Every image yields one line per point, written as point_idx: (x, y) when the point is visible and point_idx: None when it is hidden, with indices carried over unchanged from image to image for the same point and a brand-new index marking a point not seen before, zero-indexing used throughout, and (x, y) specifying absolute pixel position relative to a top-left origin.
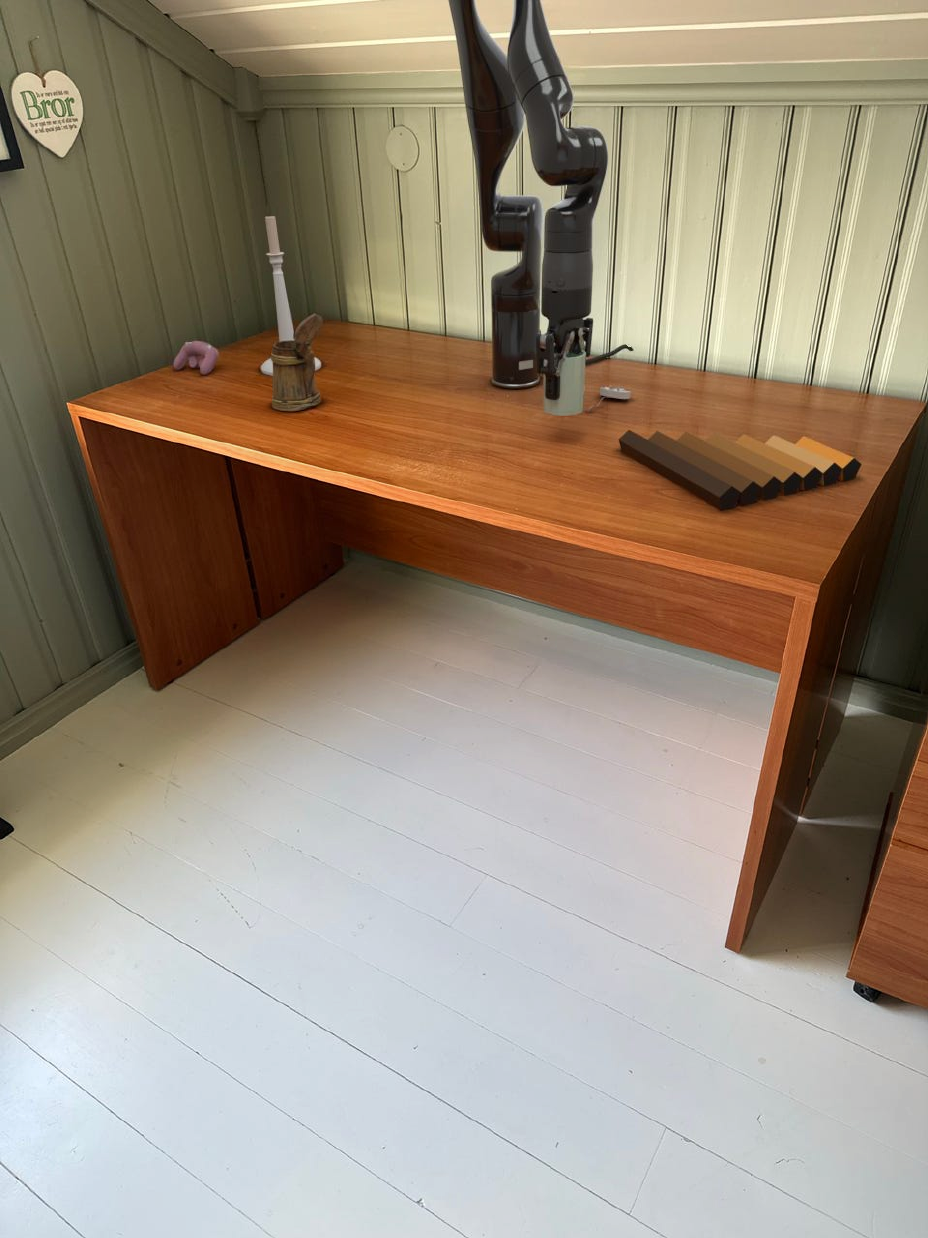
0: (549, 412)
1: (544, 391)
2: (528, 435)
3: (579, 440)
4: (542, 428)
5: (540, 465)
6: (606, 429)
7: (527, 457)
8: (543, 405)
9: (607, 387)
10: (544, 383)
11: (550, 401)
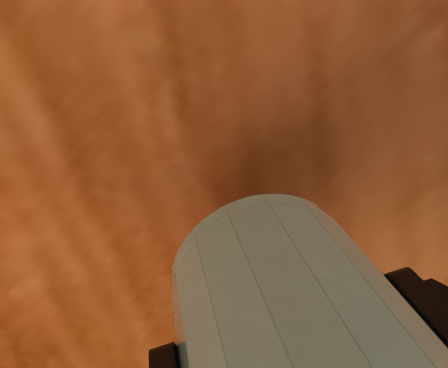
0: (171, 288)
1: (192, 315)
2: (190, 73)
3: None
4: (287, 54)
5: (29, 301)
6: (399, 211)
7: (35, 233)
8: (190, 248)
9: None
10: (200, 351)
11: (175, 332)
